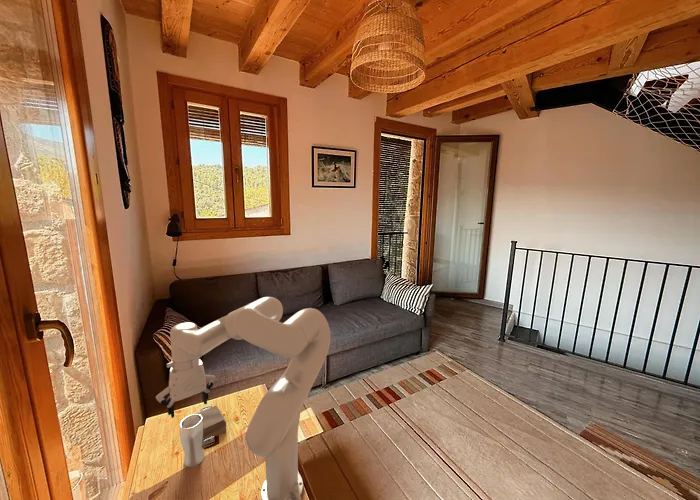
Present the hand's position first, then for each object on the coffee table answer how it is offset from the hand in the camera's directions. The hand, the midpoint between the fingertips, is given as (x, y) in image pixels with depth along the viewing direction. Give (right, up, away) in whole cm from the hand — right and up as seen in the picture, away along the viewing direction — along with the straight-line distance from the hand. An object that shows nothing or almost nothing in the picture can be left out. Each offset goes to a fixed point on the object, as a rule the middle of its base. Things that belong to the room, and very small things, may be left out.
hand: (189, 408), depth 94 cm
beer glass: (0, -20, +3) cm, 20 cm away
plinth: (-2, -17, +16) cm, 23 cm away
